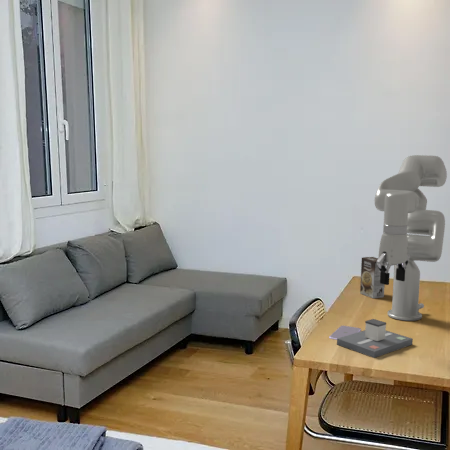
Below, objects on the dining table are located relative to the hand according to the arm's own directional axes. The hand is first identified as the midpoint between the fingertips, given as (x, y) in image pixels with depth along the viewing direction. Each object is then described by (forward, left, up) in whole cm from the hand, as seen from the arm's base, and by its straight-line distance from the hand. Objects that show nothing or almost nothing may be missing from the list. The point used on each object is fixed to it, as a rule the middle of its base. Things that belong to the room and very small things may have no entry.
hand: (392, 282), depth 197 cm
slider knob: (+8, 0, -18) cm, 19 cm away
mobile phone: (+7, -13, -20) cm, 25 cm away
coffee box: (-42, -40, -20) cm, 61 cm away
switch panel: (+8, 0, -20) cm, 21 cm away
